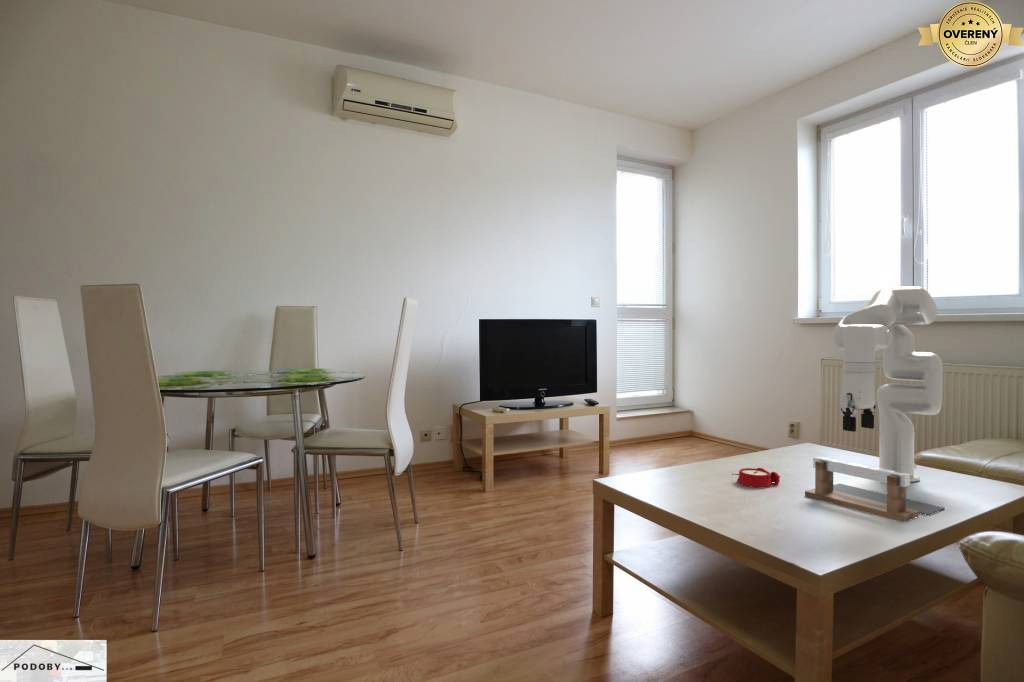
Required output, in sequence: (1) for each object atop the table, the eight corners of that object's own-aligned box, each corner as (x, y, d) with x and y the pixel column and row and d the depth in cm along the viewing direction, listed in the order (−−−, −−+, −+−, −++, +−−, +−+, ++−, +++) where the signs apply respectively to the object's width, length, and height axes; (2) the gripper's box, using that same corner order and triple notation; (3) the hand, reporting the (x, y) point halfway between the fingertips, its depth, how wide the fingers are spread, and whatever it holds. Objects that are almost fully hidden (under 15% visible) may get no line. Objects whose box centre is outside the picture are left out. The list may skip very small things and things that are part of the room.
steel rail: (818, 466, 162) (818, 456, 162) (910, 485, 141) (910, 474, 141) (813, 467, 160) (813, 457, 160) (904, 487, 140) (904, 475, 140)
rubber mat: (839, 485, 172) (839, 483, 172) (944, 509, 148) (944, 507, 148) (822, 489, 167) (822, 488, 167) (928, 515, 143) (928, 514, 143)
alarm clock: (727, 470, 176) (761, 457, 181) (730, 488, 177) (764, 474, 182) (751, 478, 166) (787, 464, 172) (755, 498, 167) (790, 482, 172)
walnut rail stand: (819, 492, 164) (820, 456, 164) (918, 516, 142) (919, 475, 142) (804, 496, 160) (805, 459, 160) (904, 522, 138) (904, 480, 138)
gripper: (860, 367, 158) (860, 425, 158) (828, 368, 149) (828, 430, 149) (889, 368, 152) (888, 428, 152) (857, 370, 143) (856, 434, 143)
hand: (858, 429), depth 151 cm, fingers open, 9 cm apart
